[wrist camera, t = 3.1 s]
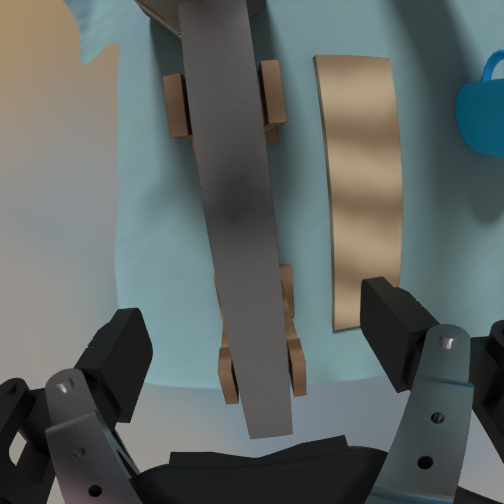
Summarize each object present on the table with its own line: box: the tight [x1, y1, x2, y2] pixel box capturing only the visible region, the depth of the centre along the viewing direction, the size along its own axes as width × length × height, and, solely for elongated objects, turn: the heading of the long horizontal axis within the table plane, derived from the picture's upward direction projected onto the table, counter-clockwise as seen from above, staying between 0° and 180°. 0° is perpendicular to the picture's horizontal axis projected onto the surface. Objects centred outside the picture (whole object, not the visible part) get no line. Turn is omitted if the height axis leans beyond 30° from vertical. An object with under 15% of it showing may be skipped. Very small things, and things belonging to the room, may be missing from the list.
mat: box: [313, 55, 403, 330], centre depth 26 cm, size 26×7×1 cm, turn 7°
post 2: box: [214, 265, 306, 404], centre depth 23 cm, size 5×7×12 cm
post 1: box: [163, 60, 287, 154], centre depth 18 cm, size 5×7×12 cm
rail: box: [178, 0, 293, 439], centre depth 16 cm, size 26×3×3 cm, turn 7°
